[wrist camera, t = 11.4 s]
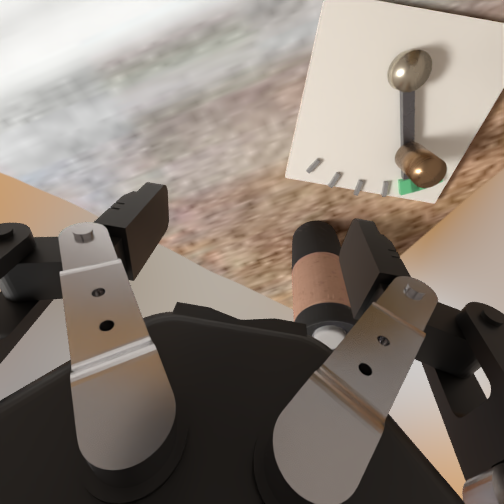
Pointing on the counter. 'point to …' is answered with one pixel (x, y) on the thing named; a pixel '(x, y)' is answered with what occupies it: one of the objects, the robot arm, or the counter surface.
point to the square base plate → (391, 94)
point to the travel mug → (320, 284)
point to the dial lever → (413, 119)
